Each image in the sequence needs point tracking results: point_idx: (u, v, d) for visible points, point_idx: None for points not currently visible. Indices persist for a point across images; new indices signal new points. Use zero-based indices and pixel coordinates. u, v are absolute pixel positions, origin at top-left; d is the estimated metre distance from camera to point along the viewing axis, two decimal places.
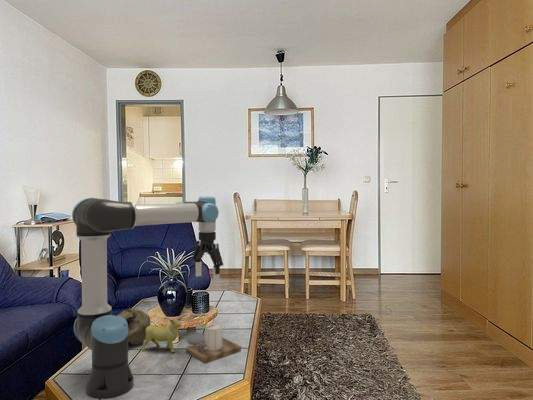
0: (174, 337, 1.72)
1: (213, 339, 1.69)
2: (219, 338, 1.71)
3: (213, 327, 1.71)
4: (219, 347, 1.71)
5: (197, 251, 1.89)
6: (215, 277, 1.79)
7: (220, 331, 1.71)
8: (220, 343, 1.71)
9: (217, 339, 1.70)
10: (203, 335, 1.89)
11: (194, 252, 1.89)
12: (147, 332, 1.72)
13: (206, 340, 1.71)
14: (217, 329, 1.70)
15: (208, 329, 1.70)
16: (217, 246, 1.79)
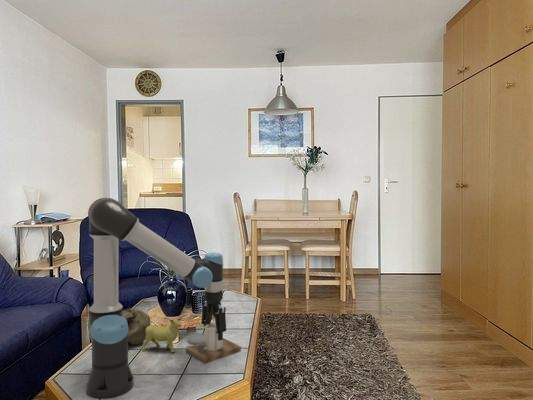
0: (174, 337, 1.72)
1: (213, 339, 1.69)
2: None
3: (213, 327, 1.71)
4: None
5: (205, 313, 1.76)
6: (218, 343, 1.69)
7: None
8: None
9: None
10: (203, 335, 1.89)
11: (202, 315, 1.77)
12: (147, 332, 1.72)
13: (206, 340, 1.71)
14: None
15: (208, 329, 1.70)
16: (224, 310, 1.68)
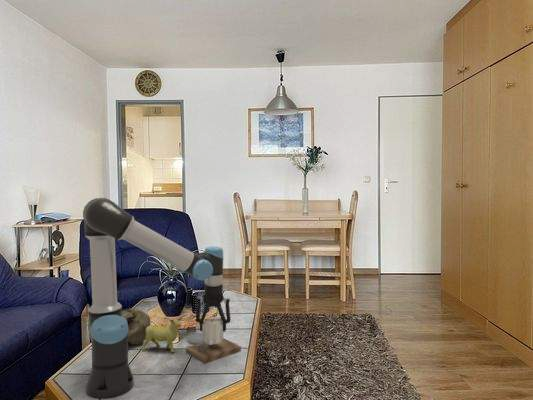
0: (174, 337, 1.72)
1: (218, 332, 1.70)
2: None
3: (216, 320, 1.71)
4: None
5: (200, 310, 1.72)
6: (222, 335, 1.72)
7: None
8: None
9: None
10: None
11: (197, 312, 1.71)
12: (147, 332, 1.72)
13: (211, 335, 1.69)
14: (221, 321, 1.72)
15: (214, 323, 1.69)
16: None
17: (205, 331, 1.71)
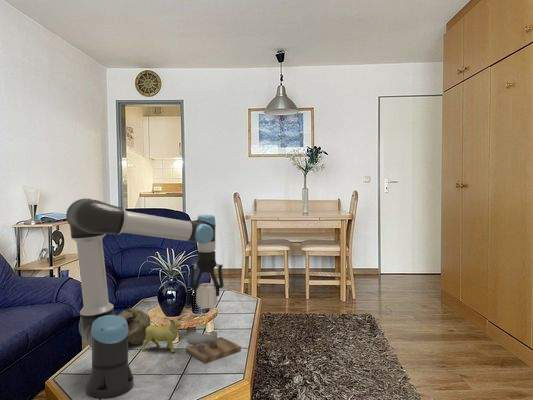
0: (174, 337, 1.72)
1: (212, 296, 1.77)
2: None
3: (209, 285, 1.78)
4: None
5: (194, 276, 1.79)
6: (216, 299, 1.78)
7: None
8: None
9: None
10: (203, 335, 1.89)
11: (191, 278, 1.78)
12: (147, 332, 1.72)
13: (204, 299, 1.76)
14: (214, 286, 1.78)
15: (207, 288, 1.75)
16: None
17: (199, 296, 1.77)
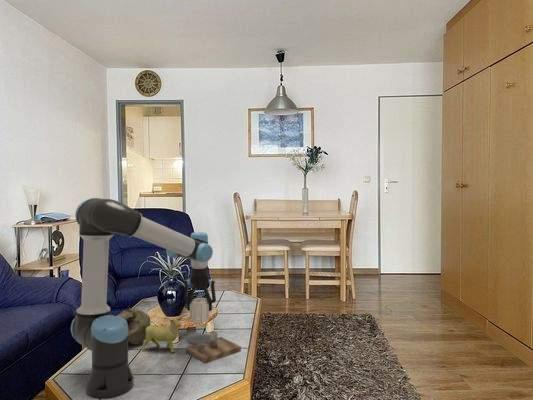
0: (174, 337, 1.72)
1: (205, 311, 1.84)
2: None
3: (202, 300, 1.84)
4: None
5: (187, 291, 1.85)
6: (208, 314, 1.85)
7: (207, 303, 1.86)
8: None
9: None
10: (203, 335, 1.89)
11: (184, 293, 1.84)
12: (147, 332, 1.72)
13: (197, 314, 1.82)
14: (207, 301, 1.85)
15: (200, 303, 1.82)
16: (214, 282, 1.85)
17: (192, 310, 1.84)
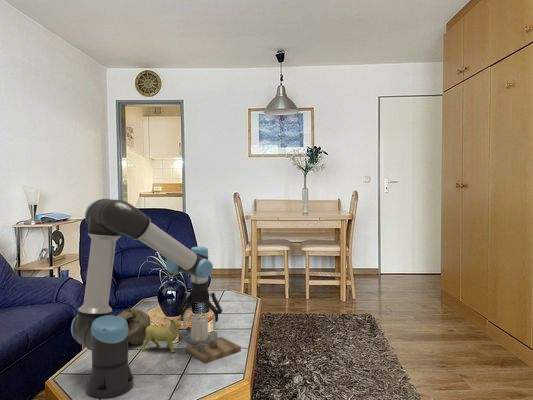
0: (174, 337, 1.72)
1: (204, 329, 1.84)
2: (207, 328, 1.86)
3: (202, 319, 1.85)
4: (207, 336, 1.86)
5: (183, 303, 1.85)
6: (215, 325, 1.85)
7: (207, 321, 1.87)
8: (207, 332, 1.87)
9: (207, 329, 1.85)
10: None
11: (180, 304, 1.85)
12: (147, 332, 1.72)
13: (197, 332, 1.83)
14: (206, 319, 1.85)
15: (200, 322, 1.82)
16: None
17: (192, 329, 1.84)
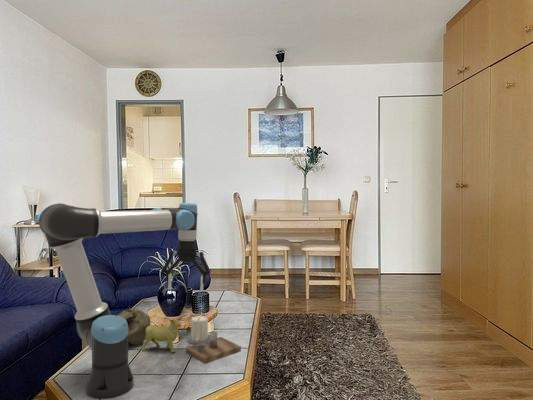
0: (174, 337, 1.72)
1: (204, 329, 1.84)
2: (207, 328, 1.86)
3: (202, 319, 1.85)
4: (207, 336, 1.86)
5: (169, 262, 1.74)
6: (202, 286, 1.73)
7: (207, 321, 1.87)
8: (207, 332, 1.87)
9: (207, 329, 1.85)
10: None
11: (166, 264, 1.73)
12: (147, 332, 1.72)
13: (197, 332, 1.83)
14: (206, 319, 1.85)
15: (200, 322, 1.82)
16: (203, 254, 1.75)
17: (192, 329, 1.84)
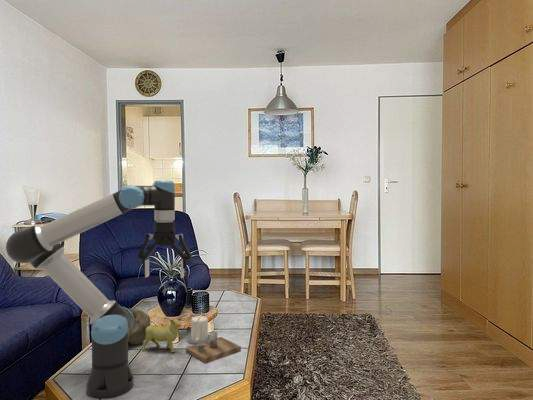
0: (174, 337, 1.72)
1: (204, 329, 1.84)
2: (207, 328, 1.86)
3: (202, 319, 1.85)
4: (207, 336, 1.86)
5: (145, 247, 1.57)
6: (182, 272, 1.56)
7: (207, 321, 1.87)
8: (207, 332, 1.87)
9: (207, 329, 1.85)
10: None
11: (141, 248, 1.56)
12: (147, 332, 1.72)
13: (197, 332, 1.83)
14: (206, 319, 1.85)
15: (200, 322, 1.82)
16: None
17: (192, 329, 1.84)
